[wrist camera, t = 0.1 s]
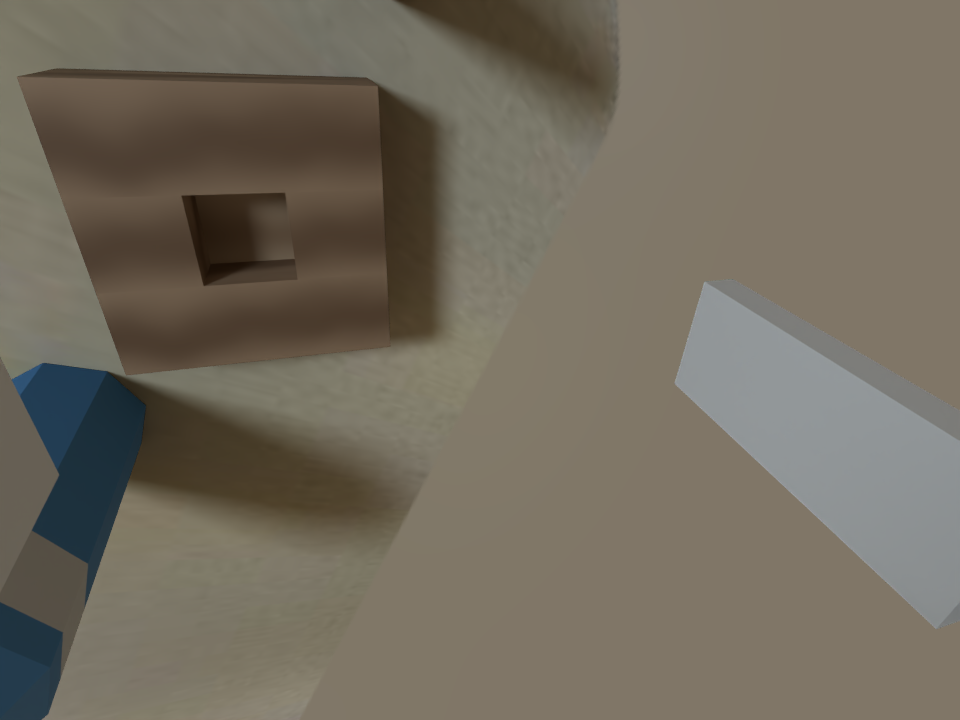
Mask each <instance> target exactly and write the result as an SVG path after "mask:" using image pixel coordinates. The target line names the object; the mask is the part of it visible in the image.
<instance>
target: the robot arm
mask: <svg viewBox="0 0 960 720" xmlns="http://www.w3.org/2000/svg"><path fill="white" fill-rule="evenodd" d="M675 384H676V386H678V387H679V388H680V389H681V390H682V391H683V392H684V393H685V394H686V395H687V396H688V397H689V398H690V399H691V400H692V401H694V402H695V403H696V404H697V405H698V406H699V407H700V408H701V409H702V410H703V411H704V412H705V413H706V414H707V415H709V416H710V417H711V418H712V419H713V420H714V421H715V422H716V423H717V424H718V425H719V426H720V427H721V428H722V429H723V430H725V431H726V432H727V433H728V434H729V435H730V436H731V437H732V438H733V439H734V440H735V441H736V442H737V443H738V444H739V445H740V446H742V447H743V448H744V449H745V450H746V451H747V452H748V453H749V454H750V455H751V456H752V457H753V458H754V459H755V460H757V461H758V462H759V463H760V464H761V465H762V466H763V467H764V468H765V469H766V470H767V471H768V472H769V473H770V474H772V476H774V477H775V478H776V479H777V480H778V481H779V482H780V483H781V484H782V485H783V486H784V487H785V488H786V489H788V491H790V492H791V493H792V494H793V495H794V496H795V497H796V498H797V499H798V500H799V501H800V502H801V503H802V504H803V505H804V506H806V507H807V508H808V509H809V510H810V511H811V512H812V513H813V514H814V515H815V516H816V517H817V518H818V519H819V520H820V521H822V522H823V523H824V524H825V525H826V526H827V527H828V528H829V529H830V530H831V531H832V532H833V533H834V534H835V535H837V536H838V537H839V538H840V539H841V540H842V541H843V542H844V543H845V544H846V545H847V546H848V547H849V548H850V549H852V551H854V552H855V553H856V554H857V555H858V556H859V557H860V558H861V559H862V560H863V561H864V562H865V563H866V564H867V565H869V566H870V567H871V568H872V569H873V570H874V571H875V572H876V573H877V574H878V575H879V576H880V577H881V578H882V579H883V580H884V581H886V582H887V583H888V584H889V585H890V586H891V587H892V588H893V589H894V590H895V591H896V592H897V593H898V594H900V596H902V597H903V598H904V599H905V600H906V601H907V602H908V603H909V604H910V605H911V606H912V607H914V609H915V610H917V611H918V612H919V613H920V614H921V615H922V616H923V617H924V618H925V619H926V620H927V621H928V622H929V623H931V625H933V626H934V627H935V628H936V629H938V628H941V627H944V626H947V625H949V624H952V623H955V622H957V621H960V411H959V410H958V409H956V408H954V407H952V406H951V405H949V404H947V403H946V402H944V401H942V400H941V399H939V398H937V397H935V396H934V395H932V394H930V393H928V392H927V391H925V390H923V389H921V388H920V387H918V386H916V385H915V384H913V383H911V382H909V381H908V380H906V379H904V378H903V377H901V376H899V375H897V374H896V373H894V372H892V371H890V370H888V369H887V368H885V367H884V366H882V365H880V364H878V363H877V362H875V361H873V360H872V359H870V358H868V357H866V356H865V355H863V354H861V353H859V352H858V351H856V350H854V349H853V348H851V347H849V346H847V345H846V344H844V343H842V342H841V341H839V340H837V339H835V338H833V337H832V336H830V335H828V334H827V333H825V332H823V331H822V330H820V329H818V328H816V327H814V326H813V325H811V324H809V323H808V322H806V321H804V320H803V319H801V318H799V317H797V316H796V315H794V314H792V313H791V312H789V311H787V310H785V309H784V308H782V307H780V306H778V305H777V304H775V303H773V302H771V301H770V300H768V299H766V298H764V297H763V296H761V295H759V294H758V293H756V292H754V291H752V290H751V289H749V288H747V287H746V286H744V285H742V284H740V283H739V282H737V281H735V280H733V279H728V280H718V281H706V282H704V285H703V289H702V292H701V296H700V299H699V303H698V306H697V309H696V312H695V316H694V319H693V323H692V326H691V329H690V333H689V336H688V340H687V343H686V347H685V350H684V353H683V357H682V360H681V363H680V367H679V370H678V374H677V377H676V381H675ZM58 476H59V473H58V471H57V469H56V467H55V465H54V463H53V461H52V459H51V457H50V455H49V453H48V451H47V449H46V447H45V445H44V443H43V441H42V439H41V437H40V435H39V433H38V431H37V429H36V427H35V425H34V423H33V421H32V419H31V417H30V416H29V414H28V412H27V410H26V408H25V406H24V404H23V402H22V400H21V398H20V396H19V394H18V392H17V390H16V388H15V386H14V384H13V382H12V380H11V378H10V376H9V374H8V372H7V370H6V368H5V366H4V364H3V362H2V360H1V358H0V592H1V590H2V588H3V586H4V584H5V582H6V580H7V578H8V576H9V574H10V572H11V570H12V568H13V566H14V564H15V562H16V560H17V558H18V556H19V554H20V552H21V550H22V548H23V546H24V544H25V542H26V540H27V538H28V536H29V534H30V532H31V530H32V528H33V526H34V524H35V522H36V520H37V518H38V516H39V514H40V512H41V510H42V508H43V506H44V504H45V502H46V500H47V498H48V496H49V494H50V492H51V490H52V488H53V486H54V484H55V482H56V480H57V478H58Z"/></svg>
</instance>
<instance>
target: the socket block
mask: <svg viewBox="0 0 960 720" xmlns="http://www.w3.org/2000/svg"><path fill="white" fill-rule="evenodd" d="M17 79H18V81H19V84H20V87H21V90H22V92H23V95H24V98H25V101H26V103H27V106H28V109H29V111H30V114H31V117H32V120H33V122H34V125H35V128H36V131H37V133H38V136H39V139H40V142H41V144H42V147H43V150H44V152H45V155H46V158H47V161H48V163H49V166H50V169H51V172H52V174H53V177H54V180H55V183H56V185H57V188H58V191H59V193H60V196H61V199H62V202H63V204H64V207H65V210H66V213H67V215H68V218H69V221H70V224H71V226H72V229H73V232H74V234H75V237H76V240H77V243H78V245H79V248H80V251H81V254H82V256H83V259H84V262H85V265H86V267H87V270H88V273H89V275H90V278H91V281H92V284H93V286H94V289H95V292H96V295H97V297H98V300H99V303H100V305H101V308H102V311H103V314H104V316H105V319H106V322H107V325H108V327H109V330H110V333H111V336H112V338H113V341H114V344H115V346H116V349H117V352H118V355H119V357H120V360H121V363H122V366H123V368H124V371H125V374H126V375H134V374H143V373H152V372H161V371H170V370H180V369H189V368H198V367H207V366H216V365H226V364H235V363H244V362H253V361H262V360H271V359H281V358H290V357H299V356H308V355H317V354H327V353H336V352H345V351H354V350H363V349H373V348H382V347H390V327H389V306H388V285H387V264H386V244H385V223H384V202H383V181H382V160H381V139H380V118H379V97H378V86H377V85H376V84H374V83H373V82H372V81H370V80H369V79H368V78H359V77H325V76H291V75H257V74H224V73H190V72H156V71H122V70H89V69H52V70H47V71H42V72H37V73H33V74H28V75H23V76H18V77H17Z"/></svg>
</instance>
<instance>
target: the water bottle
mask: <svg viewBox="0 0 960 720" xmlns="http://www.w3.org/2000/svg"><path fill="white" fill-rule="evenodd" d="M12 382H13V384H14V386H15V388H16V390H17V392H18V394H19V396H20V398H21V400H22V402H23V404H24V406H25V408H26V410H27V412H28V414H29V416H30V417H31V419H32V421H33V423H34V425H35V427H36V429H37V431H38V433H39V435H40V437H41V439H42V441H43V443H44V445H45V447H46V449H47V451H48V453H49V455H50V457H51V459H52V461H53V463H54V465H55V467H56V469H57V471H58V473H59V476H58V478H57V480H56V482H55V484H54V486H53V488H52V490H51V492H50V494H49V496H48V498H47V500H46V502H45V504H44V506H43V508H42V510H41V512H40V514H39V516H38V518H37V520H36V522H35V524H34V526H33V528H32V530H31V532H30V534H29V536H28V538H27V540H26V542H25V544H24V546H23V548H22V550H21V552H20V554H19V556H18V558H17V560H16V562H15V564H14V566H13V568H12V570H11V572H10V574H9V576H8V578H7V580H6V582H5V584H4V586H3V588H2V590H1V592H0V720H41V719H43V718H44V717H45V716H46V715H47V714H48V713H49V710H50V707H51V704H52V701H53V698H54V695H55V692H56V690H57V687H58V684H59V681H60V678H61V675H62V672H63V669H64V666H65V663H66V661H67V658H68V655H69V652H70V649H71V646H72V643H73V640H74V637H75V634H76V631H77V629H78V626H79V623H80V620H81V617H82V614H83V611H84V608H85V605H86V602H87V600H88V597H89V594H90V591H91V588H92V585H93V582H94V579H95V576H96V573H97V570H98V568H99V565H100V562H101V559H102V556H103V553H104V550H105V547H106V544H107V541H108V538H109V536H110V533H111V530H112V527H113V524H114V521H115V518H116V515H117V512H118V509H119V507H120V504H121V501H122V498H123V495H124V492H125V489H126V486H127V483H128V480H129V477H130V475H131V472H132V469H133V466H134V463H135V460H136V457H137V454H138V451H139V448H140V445H141V441H142V433H143V425H144V417H145V409H146V405H145V404H143V403H142V402H141V401H140V400H139V399H138V398H137V397H135V396H134V395H133V394H132V393H131V392H130V391H129V390H128V389H126V388H125V387H124V386H123V385H122V384H121V383H120V382H119V381H117V380H116V379H115V378H114V377H113V376H112V375H111V374H109V373H108V372H107V371H99V370H92V369H84V368H77V367H69V366H62V365H54V364H47V363H42V364H40V365H38V366H36V367H35V368H33V369H31V370H29V371H27V372H25V373H23V374H21V375H20V376H18V377H16V378H14V379H12Z"/></svg>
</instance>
